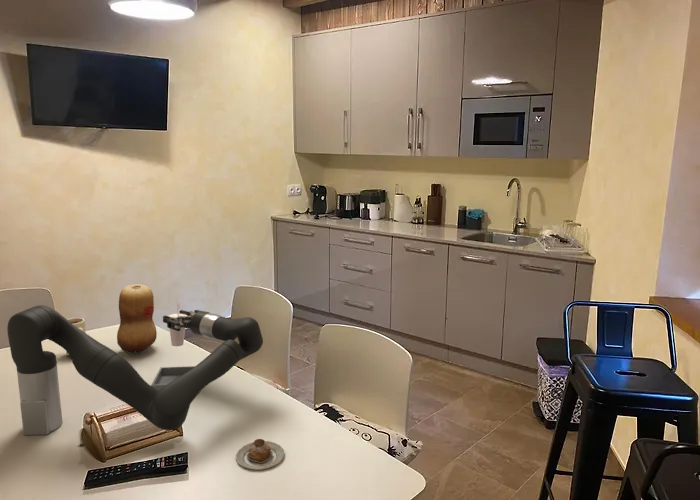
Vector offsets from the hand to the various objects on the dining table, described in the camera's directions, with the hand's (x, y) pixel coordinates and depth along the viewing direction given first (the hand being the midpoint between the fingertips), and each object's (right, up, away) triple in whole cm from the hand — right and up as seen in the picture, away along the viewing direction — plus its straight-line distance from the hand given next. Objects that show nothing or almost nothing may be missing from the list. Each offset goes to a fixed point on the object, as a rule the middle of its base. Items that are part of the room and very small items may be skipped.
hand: (172, 315), depth 177 cm
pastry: (+36, -31, -43) cm, 64 cm away
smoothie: (+2, -10, 0) cm, 10 cm away
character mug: (-40, -16, +16) cm, 46 cm away
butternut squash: (-19, -16, +21) cm, 33 cm away
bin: (+4, -22, -6) cm, 23 cm away
